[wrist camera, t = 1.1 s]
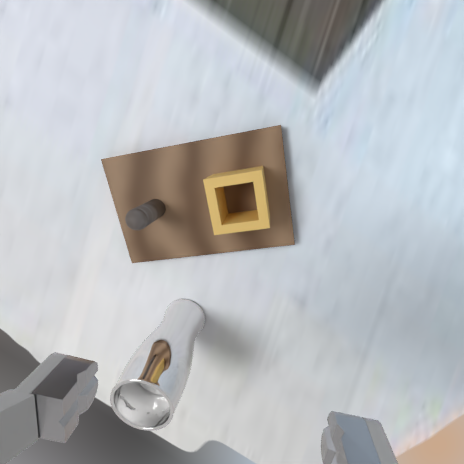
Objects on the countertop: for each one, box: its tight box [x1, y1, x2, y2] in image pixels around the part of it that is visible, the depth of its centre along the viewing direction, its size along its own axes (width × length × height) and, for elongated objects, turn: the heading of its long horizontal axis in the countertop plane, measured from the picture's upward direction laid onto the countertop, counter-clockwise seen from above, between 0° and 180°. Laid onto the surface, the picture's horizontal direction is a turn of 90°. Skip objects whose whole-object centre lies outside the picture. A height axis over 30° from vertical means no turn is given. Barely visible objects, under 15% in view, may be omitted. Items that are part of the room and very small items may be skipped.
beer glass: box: [110, 299, 205, 430], centre depth 35 cm, size 7×7×15 cm
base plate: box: [101, 125, 295, 263], centre depth 32 cm, size 22×14×8 cm, turn 100°
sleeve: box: [203, 166, 270, 235], centre depth 31 cm, size 6×6×5 cm
